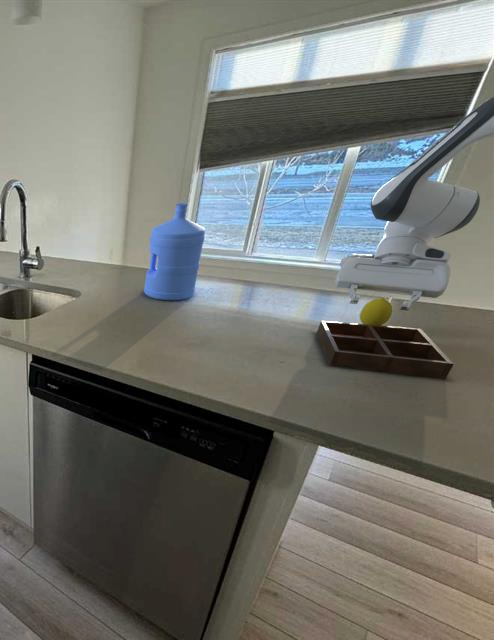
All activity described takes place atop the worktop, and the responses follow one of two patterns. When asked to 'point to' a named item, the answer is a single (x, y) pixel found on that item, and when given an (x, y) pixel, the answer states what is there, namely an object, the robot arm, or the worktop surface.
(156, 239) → the water jug
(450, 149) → the robot arm
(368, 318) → the lemon
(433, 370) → the grid
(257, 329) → the worktop surface
